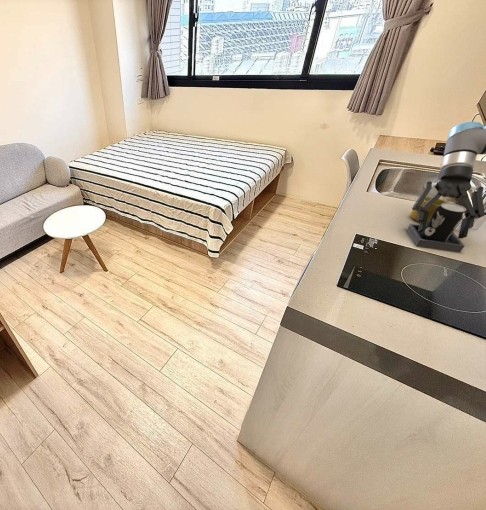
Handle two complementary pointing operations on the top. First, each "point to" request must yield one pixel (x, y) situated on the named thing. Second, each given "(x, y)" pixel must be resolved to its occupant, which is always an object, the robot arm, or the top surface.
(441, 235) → the beverage can
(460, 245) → the dark grey tray
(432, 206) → the mug
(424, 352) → the top surface
